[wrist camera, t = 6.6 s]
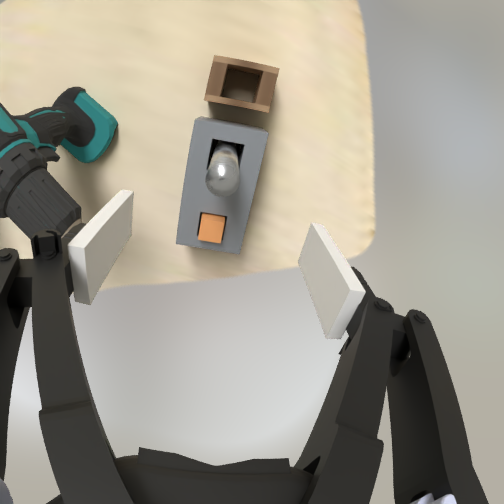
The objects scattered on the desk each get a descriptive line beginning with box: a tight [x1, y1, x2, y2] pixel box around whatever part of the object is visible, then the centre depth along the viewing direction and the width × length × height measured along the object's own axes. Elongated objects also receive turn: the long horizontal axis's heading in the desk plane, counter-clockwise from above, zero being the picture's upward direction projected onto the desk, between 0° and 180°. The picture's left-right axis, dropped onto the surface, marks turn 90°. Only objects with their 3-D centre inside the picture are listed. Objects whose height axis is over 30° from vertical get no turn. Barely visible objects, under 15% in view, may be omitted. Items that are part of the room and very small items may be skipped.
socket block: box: [176, 117, 269, 254], centre depth 40 cm, size 9×17×7 cm, turn 167°
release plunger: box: [198, 212, 225, 243], centre depth 41 cm, size 3×3×8 cm
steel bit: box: [205, 140, 240, 197], centre depth 33 cm, size 3×3×18 cm
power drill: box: [0, 87, 118, 239], centre depth 26 cm, size 26×9×25 cm, turn 44°
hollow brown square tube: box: [204, 55, 280, 113], centre depth 34 cm, size 8×6×6 cm
